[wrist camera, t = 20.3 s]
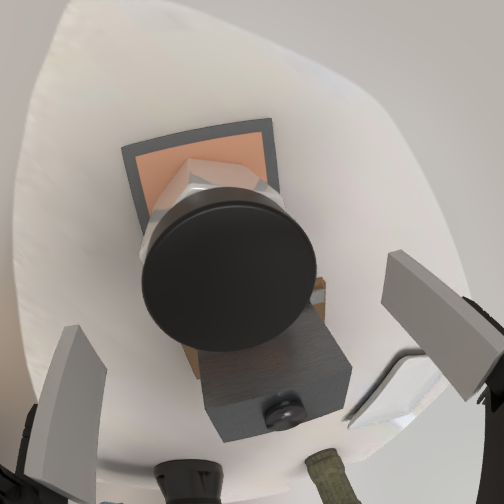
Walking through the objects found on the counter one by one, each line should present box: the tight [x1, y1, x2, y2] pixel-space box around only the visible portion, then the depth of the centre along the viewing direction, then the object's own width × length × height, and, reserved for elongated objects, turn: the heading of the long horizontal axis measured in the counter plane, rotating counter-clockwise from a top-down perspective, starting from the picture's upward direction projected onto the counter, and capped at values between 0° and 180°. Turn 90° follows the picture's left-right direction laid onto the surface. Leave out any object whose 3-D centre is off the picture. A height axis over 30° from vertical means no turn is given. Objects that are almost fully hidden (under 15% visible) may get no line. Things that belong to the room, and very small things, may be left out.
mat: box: [121, 118, 280, 235], centre depth 23 cm, size 12×13×1 cm
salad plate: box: [347, 354, 443, 430], centre depth 47 cm, size 21×21×3 cm
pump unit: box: [182, 277, 352, 443], centre depth 26 cm, size 16×10×12 cm, turn 97°
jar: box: [139, 158, 317, 353], centre depth 18 cm, size 9×8×12 cm
